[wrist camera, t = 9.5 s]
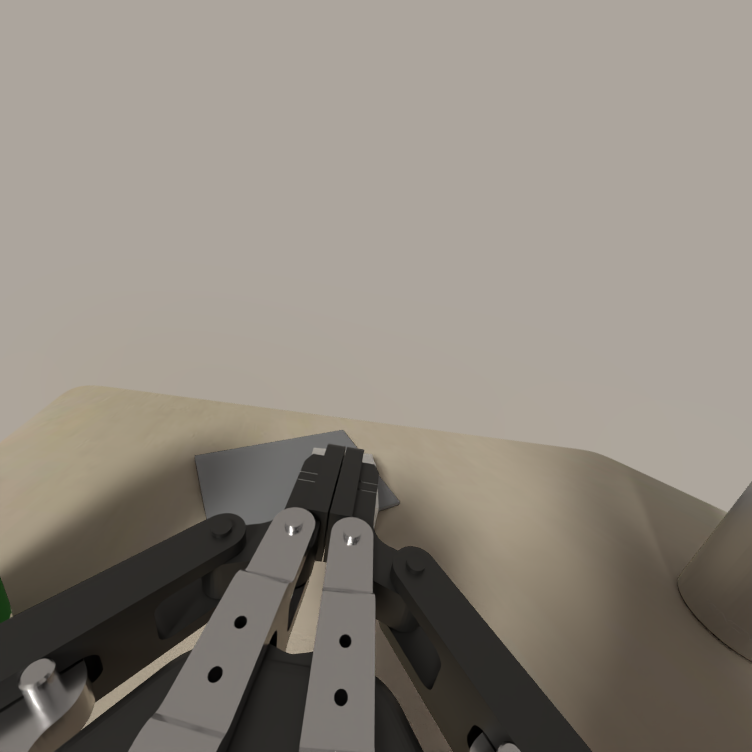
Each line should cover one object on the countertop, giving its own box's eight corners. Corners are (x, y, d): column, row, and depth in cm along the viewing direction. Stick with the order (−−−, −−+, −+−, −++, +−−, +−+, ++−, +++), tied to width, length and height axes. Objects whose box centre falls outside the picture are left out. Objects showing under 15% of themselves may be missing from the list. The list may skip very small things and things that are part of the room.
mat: (342, 432, 48) (342, 429, 48) (399, 504, 38) (399, 501, 37) (194, 458, 39) (194, 455, 39) (215, 564, 28) (215, 561, 28)
